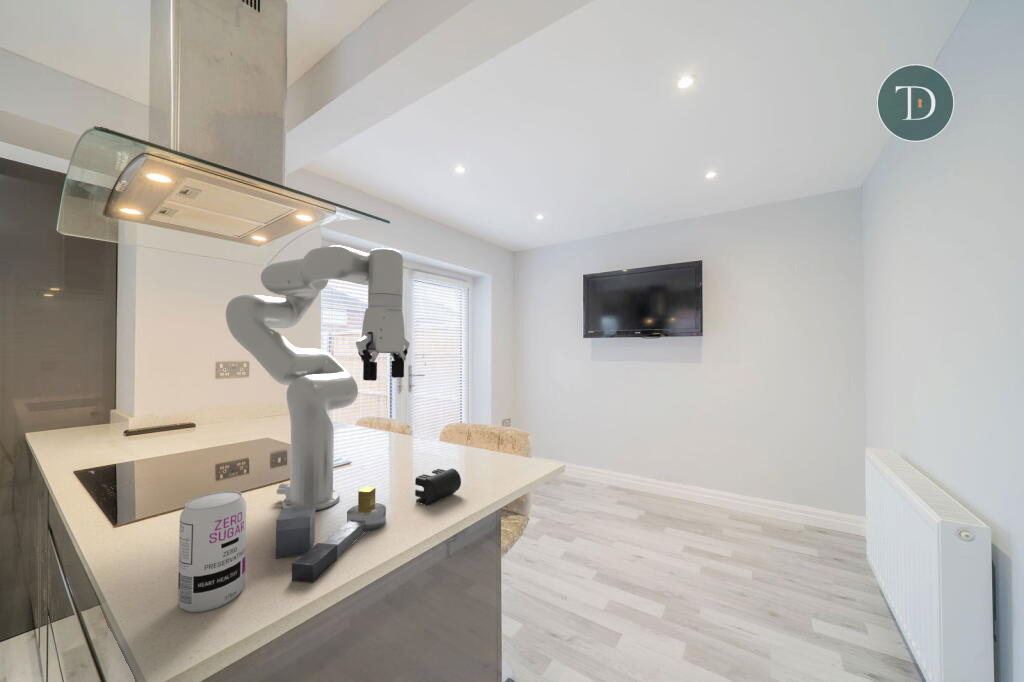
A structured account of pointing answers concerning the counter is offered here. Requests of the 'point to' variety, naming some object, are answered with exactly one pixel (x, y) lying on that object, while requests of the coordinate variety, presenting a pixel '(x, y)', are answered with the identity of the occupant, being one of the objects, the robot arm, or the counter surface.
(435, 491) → the end cap
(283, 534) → the socket
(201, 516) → the supplement can
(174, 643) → the counter surface
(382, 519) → the ratchet
